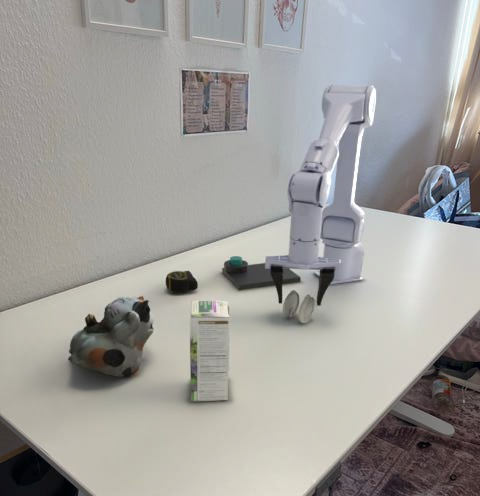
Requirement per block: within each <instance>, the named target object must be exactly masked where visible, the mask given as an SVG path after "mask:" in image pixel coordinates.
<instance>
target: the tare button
mask: <svg viewBox="0 0 480 496" xmlns="http://www.w3.org/2000/svg"><path fill="white" fill-rule="evenodd" d="M229 260H230V265H233V266H240V265H242V260H243V257H242V256H239V255H233V256H230V257H229Z"/></svg>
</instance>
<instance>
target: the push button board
mask: <svg viewBox="0 0 480 496" xmlns="http://www.w3.org/2000/svg"><path fill="white" fill-rule="evenodd" d="M270 271H271V268H270V269H265V262H262V263H254V264H249V262H248V261H246V260H243V259H242V265H240V266H233V265H230V259H228V260H225V261H224V263H223V267H221V274H223V276H224V277H226V279H227V280H228V281H229V282H230V283H231V284H232V285H233V286H234V287H235V288H236V289H237V290H238V291H246V290H252V289H259V288H267V287H276V286H275V284H274V281H273V279H272V277H271V274H270ZM297 283H301V276H300V275H299V274H297V273H296V272H294V271H293V269H289V268H283V282H282V286H283V285H288V284H297Z"/></svg>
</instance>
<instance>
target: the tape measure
mask: <svg viewBox="0 0 480 496" xmlns="http://www.w3.org/2000/svg"><path fill="white" fill-rule="evenodd" d="M198 286H199V283H198V281H197V278H195V276H193V274H192V272H191V271H190V270H183V271H181V270H175V271H171V272H169V273H167V274H166V277H165V287H166V288H167V290H169V292H172V293H177V294H184V293H188V292H193V291H196V290H197V289H198V288H199V287H198Z"/></svg>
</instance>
